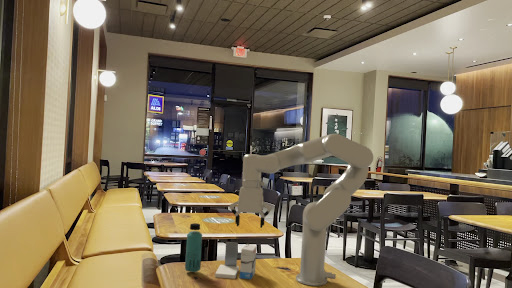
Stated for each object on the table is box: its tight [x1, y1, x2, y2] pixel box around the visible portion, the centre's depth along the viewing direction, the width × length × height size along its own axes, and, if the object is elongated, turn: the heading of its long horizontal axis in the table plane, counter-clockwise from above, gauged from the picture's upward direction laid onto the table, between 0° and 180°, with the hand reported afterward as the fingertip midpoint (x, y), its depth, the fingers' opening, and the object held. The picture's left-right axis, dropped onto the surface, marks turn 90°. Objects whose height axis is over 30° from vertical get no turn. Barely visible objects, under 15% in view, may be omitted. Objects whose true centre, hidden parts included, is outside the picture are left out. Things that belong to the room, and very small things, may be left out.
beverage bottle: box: [184, 223, 203, 273], centre depth 160 cm, size 6×7×20 cm
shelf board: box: [214, 264, 240, 280], centre depth 162 cm, size 8×12×2 cm
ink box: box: [239, 244, 258, 280], centre depth 160 cm, size 8×5×12 cm, turn 169°
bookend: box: [224, 241, 239, 267], centre depth 167 cm, size 5×1×10 cm, turn 85°
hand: (249, 226), depth 160 cm, fingers open, 9 cm apart
